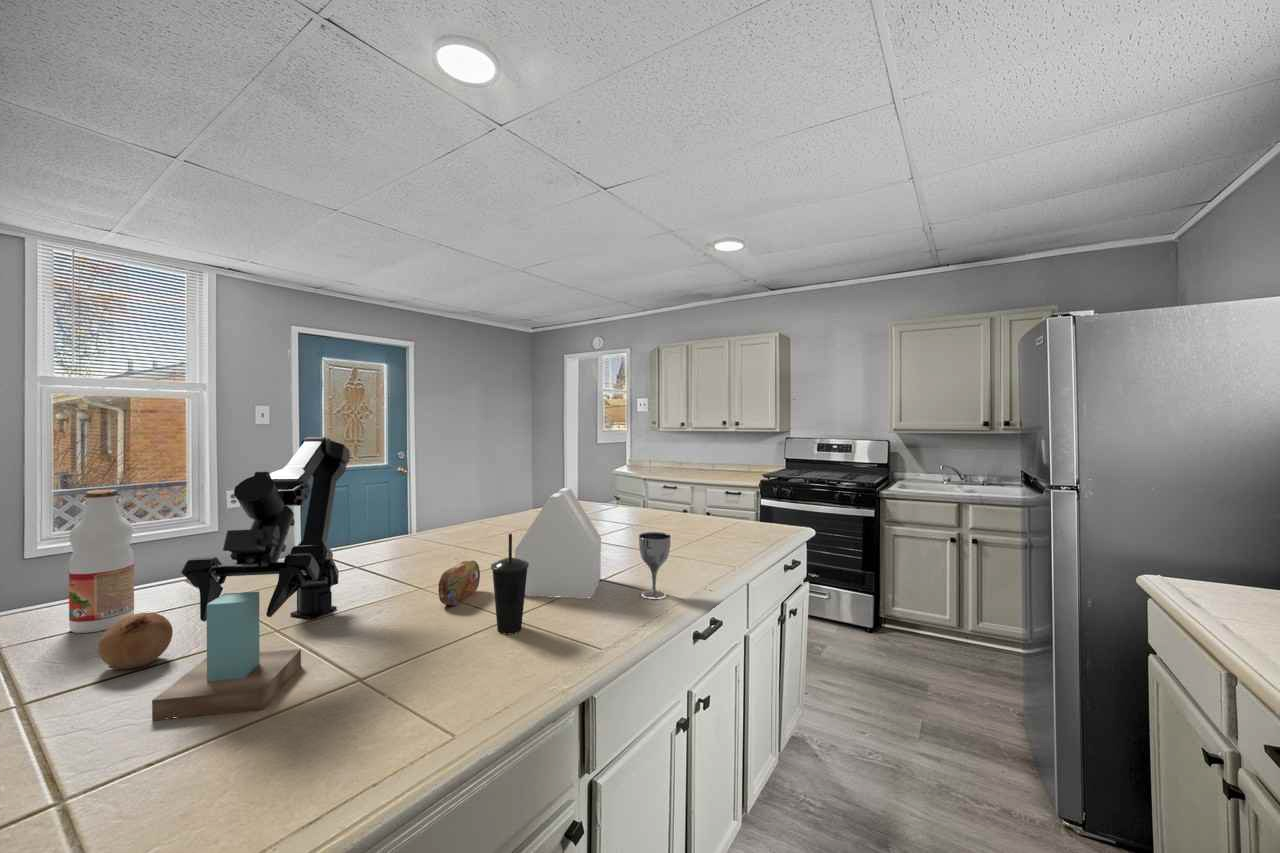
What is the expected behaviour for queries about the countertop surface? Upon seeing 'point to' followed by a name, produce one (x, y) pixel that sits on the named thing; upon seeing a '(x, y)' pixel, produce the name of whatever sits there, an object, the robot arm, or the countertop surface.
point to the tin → (459, 583)
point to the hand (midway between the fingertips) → (236, 618)
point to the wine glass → (654, 555)
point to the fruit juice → (100, 565)
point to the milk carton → (561, 550)
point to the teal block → (232, 636)
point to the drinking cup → (509, 591)
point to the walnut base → (227, 688)
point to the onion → (135, 641)
